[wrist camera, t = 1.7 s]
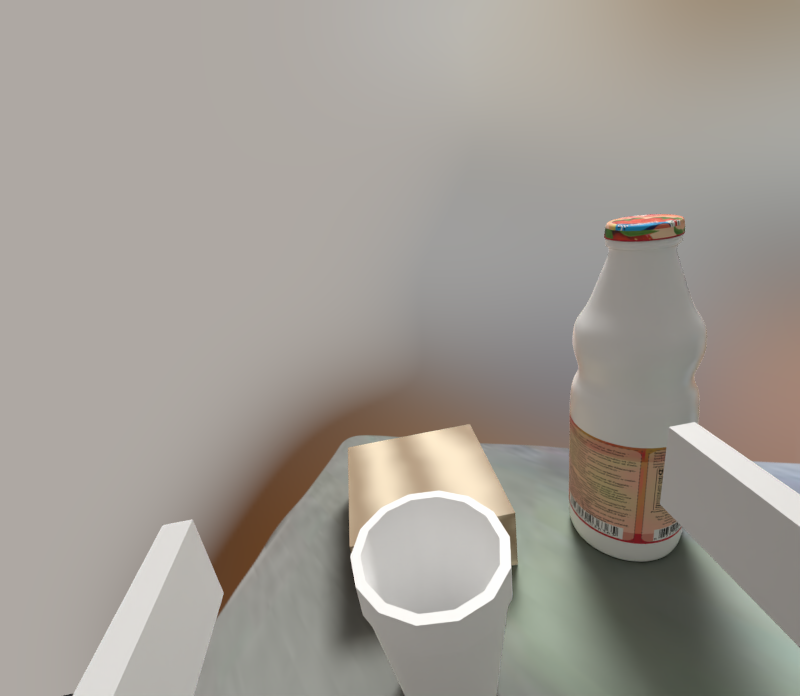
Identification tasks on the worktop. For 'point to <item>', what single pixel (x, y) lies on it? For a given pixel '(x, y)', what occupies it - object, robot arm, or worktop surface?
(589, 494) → the fruit juice
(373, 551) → the foam cup
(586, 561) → the worktop surface
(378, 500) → the maple block
